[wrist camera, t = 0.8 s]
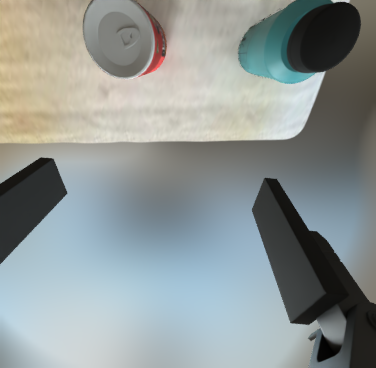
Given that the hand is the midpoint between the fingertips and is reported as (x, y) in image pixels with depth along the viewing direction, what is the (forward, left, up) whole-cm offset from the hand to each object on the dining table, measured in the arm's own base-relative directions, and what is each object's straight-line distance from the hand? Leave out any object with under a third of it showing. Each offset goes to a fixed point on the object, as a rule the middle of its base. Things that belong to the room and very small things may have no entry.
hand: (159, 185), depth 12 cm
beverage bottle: (-9, +10, -27) cm, 30 cm away
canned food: (-7, -8, -27) cm, 29 cm away
